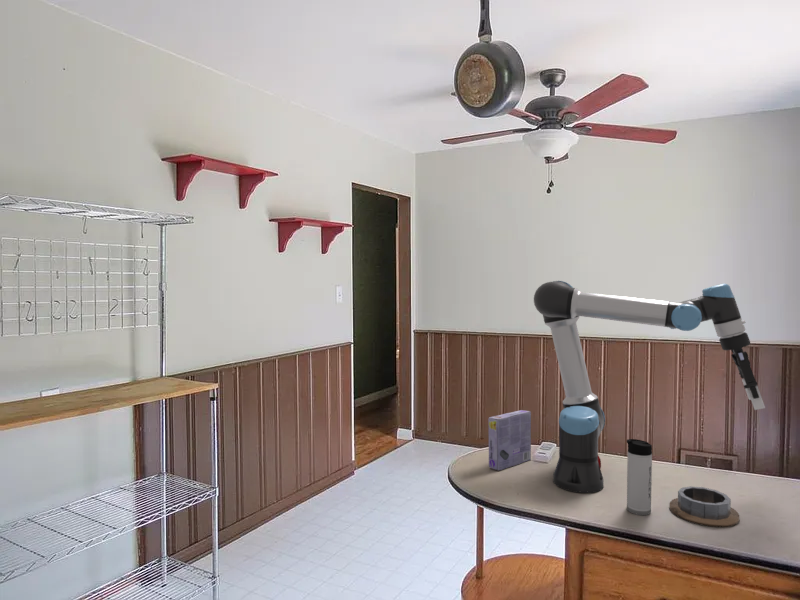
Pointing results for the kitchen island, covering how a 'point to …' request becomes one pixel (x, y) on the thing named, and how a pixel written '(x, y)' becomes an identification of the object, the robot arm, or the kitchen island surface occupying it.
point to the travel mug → (639, 477)
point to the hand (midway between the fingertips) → (756, 403)
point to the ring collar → (704, 507)
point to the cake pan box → (509, 439)
